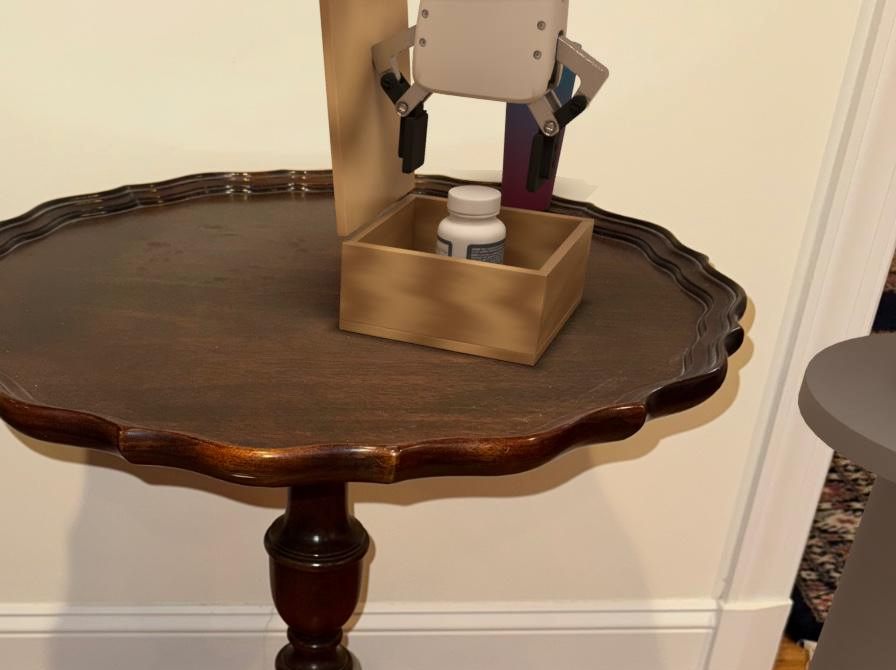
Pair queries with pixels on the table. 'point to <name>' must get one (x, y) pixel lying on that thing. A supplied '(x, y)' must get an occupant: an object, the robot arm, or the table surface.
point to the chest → (464, 282)
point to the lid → (362, 108)
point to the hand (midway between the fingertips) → (473, 178)
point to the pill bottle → (472, 225)
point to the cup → (528, 151)
